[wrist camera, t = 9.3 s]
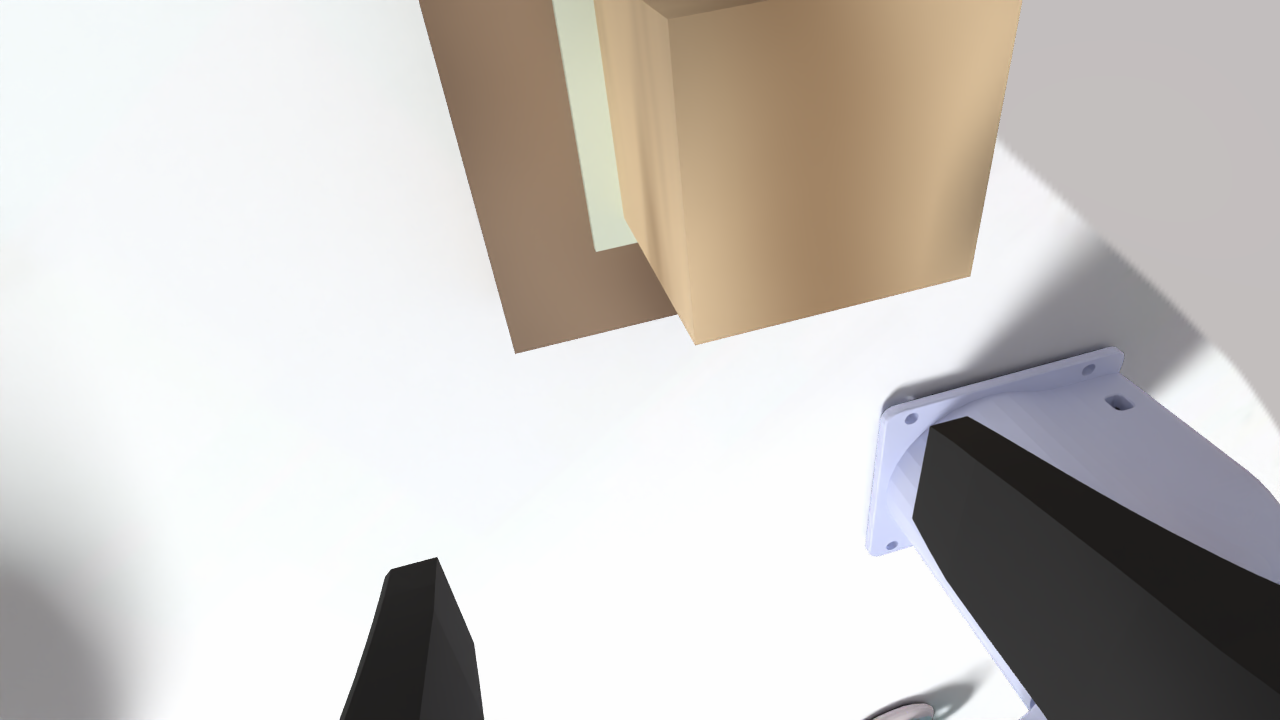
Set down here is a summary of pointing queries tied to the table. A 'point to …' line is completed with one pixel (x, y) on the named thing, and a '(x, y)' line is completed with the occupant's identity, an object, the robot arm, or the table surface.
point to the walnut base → (542, 166)
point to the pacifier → (909, 713)
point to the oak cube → (802, 147)
